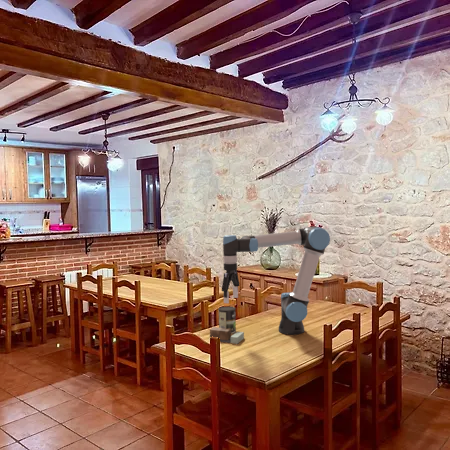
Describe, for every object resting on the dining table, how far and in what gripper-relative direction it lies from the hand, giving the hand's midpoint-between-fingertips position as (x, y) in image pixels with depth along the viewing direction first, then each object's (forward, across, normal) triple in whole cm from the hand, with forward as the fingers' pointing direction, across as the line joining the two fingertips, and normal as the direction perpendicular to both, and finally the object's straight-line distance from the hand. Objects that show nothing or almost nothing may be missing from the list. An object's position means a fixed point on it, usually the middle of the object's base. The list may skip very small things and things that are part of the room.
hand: (231, 300), depth 244 cm
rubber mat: (+23, 0, -5) cm, 23 cm away
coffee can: (+23, -14, -9) cm, 28 cm away
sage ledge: (+23, 0, +3) cm, 23 cm away
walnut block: (+20, 0, -2) cm, 20 cm away
